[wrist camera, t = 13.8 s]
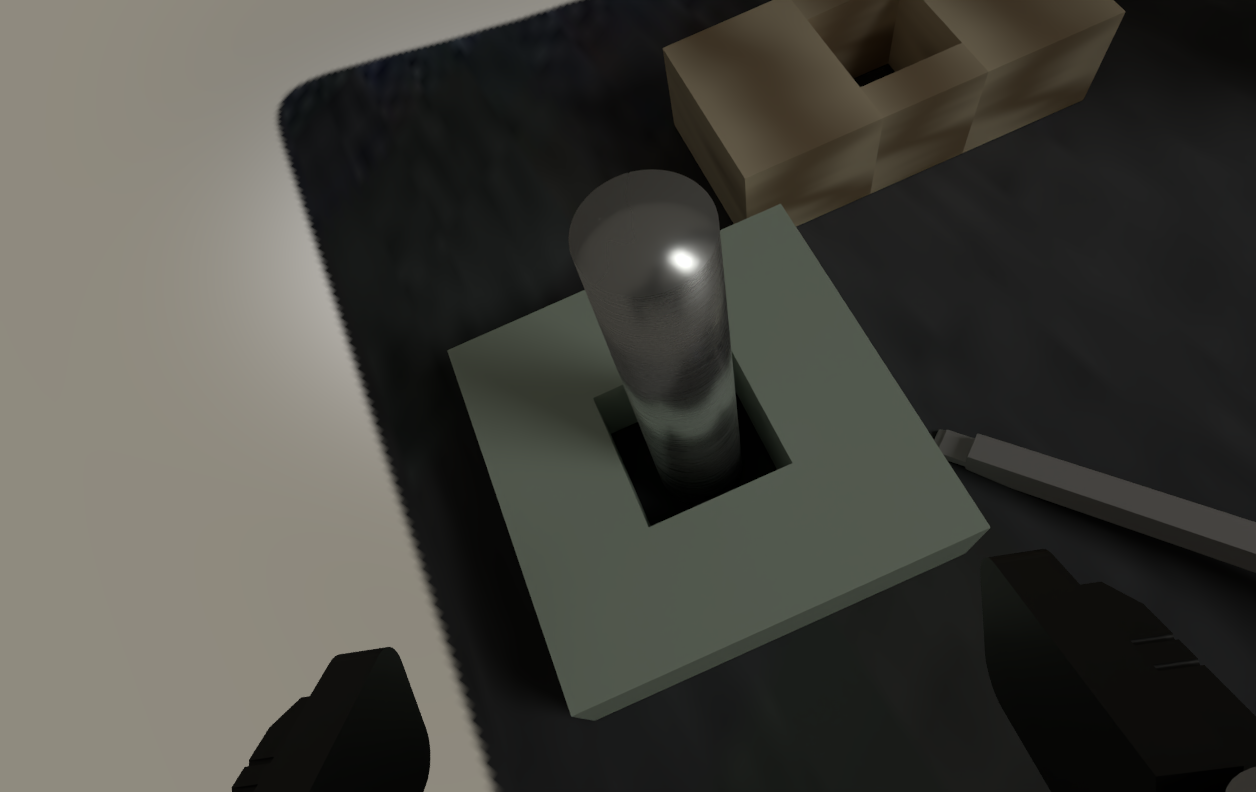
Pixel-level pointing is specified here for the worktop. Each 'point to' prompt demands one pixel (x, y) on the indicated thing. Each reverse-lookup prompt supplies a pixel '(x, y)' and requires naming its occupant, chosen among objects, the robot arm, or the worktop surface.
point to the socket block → (726, 525)
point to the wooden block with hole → (870, 90)
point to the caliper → (1106, 497)
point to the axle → (665, 321)
